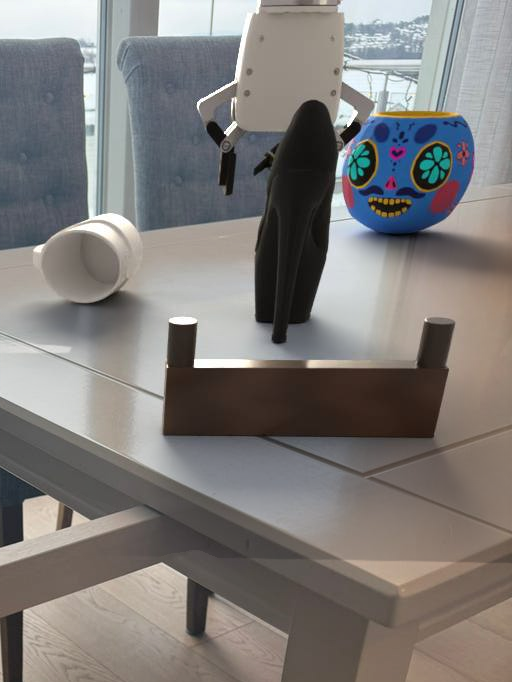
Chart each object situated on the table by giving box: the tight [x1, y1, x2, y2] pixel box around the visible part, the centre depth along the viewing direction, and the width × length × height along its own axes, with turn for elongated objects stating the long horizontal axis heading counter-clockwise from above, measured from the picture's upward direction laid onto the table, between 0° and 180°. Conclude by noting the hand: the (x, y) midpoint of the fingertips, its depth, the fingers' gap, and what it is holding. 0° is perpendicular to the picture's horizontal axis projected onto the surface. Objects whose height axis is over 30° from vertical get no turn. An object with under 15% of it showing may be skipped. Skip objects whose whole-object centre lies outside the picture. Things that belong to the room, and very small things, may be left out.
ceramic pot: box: [341, 110, 476, 235], centre depth 131 cm, size 18×18×15 cm
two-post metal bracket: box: [161, 316, 456, 438], centre depth 67 cm, size 20×2×8 cm, turn 86°
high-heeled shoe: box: [252, 100, 339, 343], centre depth 89 cm, size 8×19×20 cm, turn 167°
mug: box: [32, 213, 144, 304], centre depth 104 cm, size 12×9×8 cm
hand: (273, 193), depth 97 cm, fingers open, 9 cm apart
